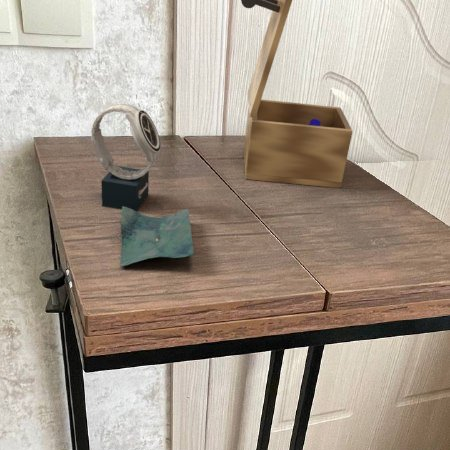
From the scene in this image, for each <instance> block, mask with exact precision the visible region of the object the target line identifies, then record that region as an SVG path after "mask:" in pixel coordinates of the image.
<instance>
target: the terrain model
mask: <svg viewBox="0 0 450 450" xmlns="http://www.w3.org/2000/svg"><path fill="white" fill-rule="evenodd" d="M120 216H121V217H120V231H121V233H120V235H121V247H120V261H119V267H125V266H128V265H131V264H135V263H138V262H142V261H144V260H148V259H154V258H171V259H176V258H178V259H179V258H185V257H186V258H187V257H189V256H192V255H194V253H195V252H194V244H193V243H194V242H193V237H192V228H191V221H190V220H191V219H190V210H189V208H186V209H182V210H179V211H178V212H176V213H174V214H172V215H171V214H170V215H165V216H162V217H156V216H148V215H145V214H142V213H140V212H138V211H135V210H132V209H130V208H127V207H124V206H122V209H121V214H120Z"/></svg>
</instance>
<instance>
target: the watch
mask: <svg viewBox="0 0 450 450" xmlns="http://www.w3.org/2000/svg"><path fill="white" fill-rule="evenodd" d="M114 112H115V113H121V114H124V116H125V118H126V120H127V121H128V123H129V127H130V132H131V134H132V137H133V140H134V142H135V144H136V145H137V147H138V148H139V150H140V151H141V152H142V153H143V154H145V157H146V160H147V162H148V165H147V166H145V167H144V168H143V169H140V168H135V167H134V168H133V167H127V166H120V165H117V164H116V163H115V162H114V161H115V159H114V158H113V156H112V154H111V152H110V151H109V149H108V146H107V144H106V142H105V138H104V135H102V129H101V122H102V120H103V118H104V117H105V116H106V115H107V114H110V113H114ZM90 133H91V138H90V142H91V145H92V148H93V151H94V153H95V155H96V157H97V159H98V161H99V163H100V164H101V166H102V167H103V169H104V170H105V171H108V173H107V174H106V175H105V176H104V177H103V178H102V179H101V180H100V181H101V183H100V184H101V206H102V207H106V208H112V209H120V210H122V206H124V207H127V208H130V209H132V210H135V211H136V212H138V210H139V209H140V207H141V206H142V205H143V203H144V202H145V201H146V199H147V197H148V196H149V181H150V180H149V178H150V177H149V174H150V173H149V171H150V169H151V168H152V167H153V165H154V164H155V163H156V161H157V159H158V156H159V153H160V151H161V148H162V147H161V146H162V145H161V139H160V134H159V131H158V129H157V127H156V124H155V123H154V121H153V119H152V118H151V116H150V115H149V114H148V113H147V112H146V111H145V110H144V109H139V108H138V107H137V106H134V105H131V104H128V103H117V104H112V105H111V106H109V107H107V108H106V109H105V110H103V111H102V112H101V113H100V114H99V115H98V116H96V118H95V119H94V121H93V123H92V128H91V132H90Z"/></svg>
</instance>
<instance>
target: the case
mask: <svg viewBox="0 0 450 450" xmlns="http://www.w3.org/2000/svg"><path fill="white" fill-rule="evenodd" d="M312 119H317V120H319V121H320V123H321V125H320V126H312V125H309V124H310V121H311V120H312ZM352 136H353V129H352V127H351V125H350V123H349V121H348V119H347V117H346V115H345V113H344V111H343V109H342V107H340V106H329V105H320V104H310V103H301V102H290V101H281V100H270V99H262V98H261V101H260V105H259V108H258V111H257V114H256V117H255V118H253V117H250V114H249V108H248V110H247V119H246V129H245V136H244V145H243V146H244V147H243V161H244V178H245V180H249V181H261V182H272V183H282V184H292V185H304V186H312V187H313V186H314V187H324V188H335V189H336V188H337V189H341V187H342V184H343V183H342V182H343V180H344V179H343V178H344V174H345V169H346V165H347V159H348V155H349V150H350V145H351V141H352Z"/></svg>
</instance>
